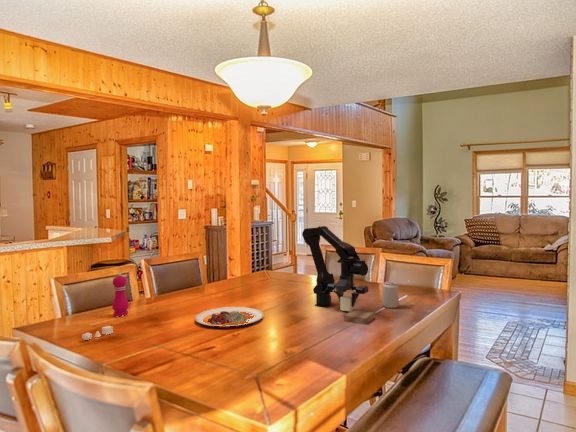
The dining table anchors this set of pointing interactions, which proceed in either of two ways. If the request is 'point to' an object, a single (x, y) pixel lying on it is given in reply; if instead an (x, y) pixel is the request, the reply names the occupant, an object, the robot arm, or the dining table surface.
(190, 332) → the dining table surface
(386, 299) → the can
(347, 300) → the block
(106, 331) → the game pieces
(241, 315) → the plated food
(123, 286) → the pepper mill
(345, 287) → the robot arm
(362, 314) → the plinth
